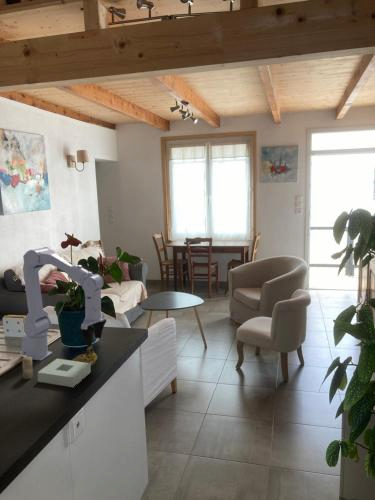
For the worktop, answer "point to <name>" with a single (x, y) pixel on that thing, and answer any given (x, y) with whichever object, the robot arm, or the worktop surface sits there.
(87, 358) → the yellow lumpy piece
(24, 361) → the peg
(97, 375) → the worktop surface
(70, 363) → the socket board
